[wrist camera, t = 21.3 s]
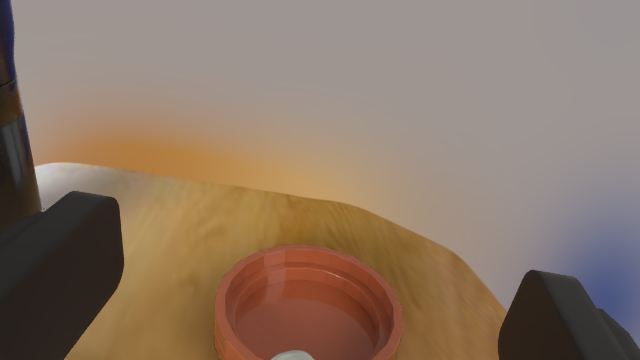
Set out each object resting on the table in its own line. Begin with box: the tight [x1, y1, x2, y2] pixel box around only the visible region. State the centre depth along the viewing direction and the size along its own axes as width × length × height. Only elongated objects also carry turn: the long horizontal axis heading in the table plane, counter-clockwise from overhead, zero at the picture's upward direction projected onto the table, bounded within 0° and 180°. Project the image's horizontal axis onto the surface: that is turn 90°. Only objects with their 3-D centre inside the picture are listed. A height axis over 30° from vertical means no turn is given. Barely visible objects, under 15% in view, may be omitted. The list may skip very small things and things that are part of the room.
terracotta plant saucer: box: [214, 245, 404, 360], centre depth 38 cm, size 16×16×4 cm
